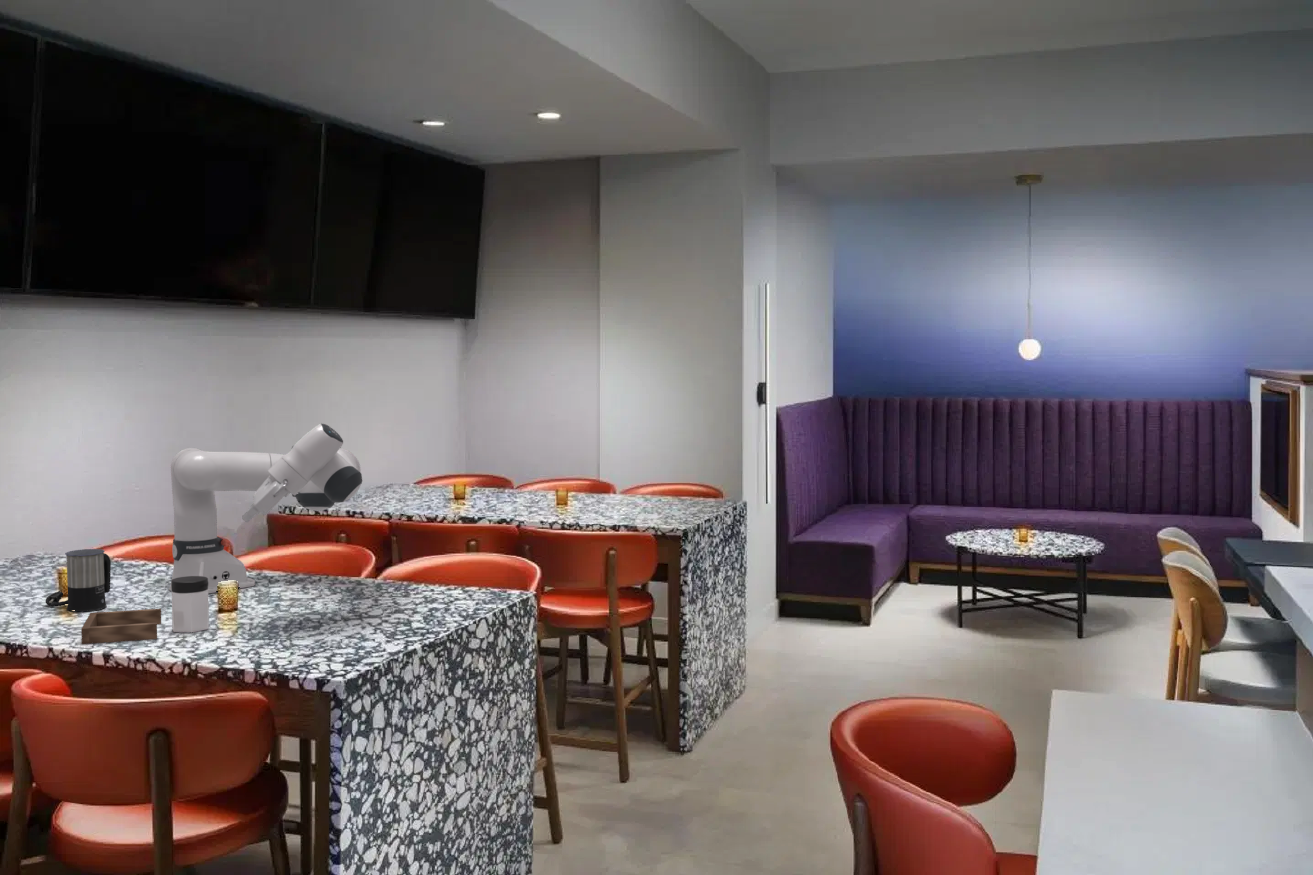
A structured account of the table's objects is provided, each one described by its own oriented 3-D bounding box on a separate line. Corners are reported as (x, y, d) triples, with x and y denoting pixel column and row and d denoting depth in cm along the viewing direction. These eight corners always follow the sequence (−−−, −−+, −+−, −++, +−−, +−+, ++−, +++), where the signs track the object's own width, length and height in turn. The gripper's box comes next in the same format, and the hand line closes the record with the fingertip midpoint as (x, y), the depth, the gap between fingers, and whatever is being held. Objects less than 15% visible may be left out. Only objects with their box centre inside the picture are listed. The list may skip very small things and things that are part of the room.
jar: (210, 631, 270) (209, 581, 269) (173, 634, 267) (172, 583, 266) (207, 623, 278) (206, 574, 278) (171, 626, 275) (170, 577, 274)
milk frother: (100, 612, 289) (99, 554, 288) (33, 614, 286) (31, 555, 285) (115, 600, 303) (114, 545, 302) (51, 602, 300) (49, 546, 299)
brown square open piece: (161, 622, 278) (160, 608, 278) (156, 638, 262) (156, 623, 262) (90, 627, 273) (90, 612, 273) (81, 644, 257) (81, 628, 257)
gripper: (298, 491, 269) (254, 535, 266) (293, 482, 288) (253, 523, 285) (277, 473, 267) (234, 516, 264) (275, 465, 286) (234, 505, 283)
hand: (244, 519), depth 275 cm, fingers closed
